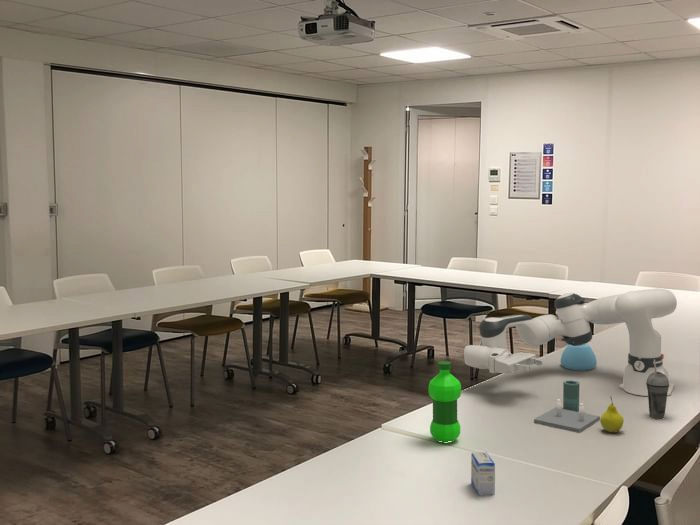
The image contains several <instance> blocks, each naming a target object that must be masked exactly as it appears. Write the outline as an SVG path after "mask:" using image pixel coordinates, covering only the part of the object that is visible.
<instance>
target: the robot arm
mask: <svg viewBox="0 0 700 525" xmlns="http://www.w3.org/2000/svg"><path fill="white" fill-rule="evenodd" d="M586 300H587V299H586V298H585V297H582V296H581V295H579V294H577V293H572V292H570V293H569V292H568V293H567V292H566V293H563V294H561V295H560V296H558V297H557V298H555V300H554V309H555V310H556V315H554V314H543V315H540V316H537V317H534V318H533V317H532V315H530V314H529V315H528V314H512V315H504V316H496V317H492V316H491V317H486V318H484V319H483V320H482V321H481V322H480V323H479V325H478V330H479V335H480V340H481V341H480V342H481V345H479V344H478V345H477V344H469V345H466V346H465V347H464V348H463V353H462V355H463V356H462V357H463V362H464V363H465V364H466V365H467V366H468V367H471V368H475V369H480V370H489V373H490V374H497V373H498V374H507V375H508V374H512V373H515V372H517V371H525V372H526V371H530V370H531V366H533V365H536V366H539V367H540V366H542V365H543V360H542V359H538V358H537V356H536V354H535V353H529V352H515V353H511V351H510V350H509V349H508V345H507V343H508V342H507V334H506V333H507V329H508V328H513V327H515V329H516V331H517V334H518V336H519V338H520V339H521V340H522V342H523V343H524V344H526V345H528V346H531V347H538V346H541V345H544V344H546V343H548V342H550V341H551V340H554V339H555V338H557V337H562V338H561V339H560V340H561V342H565V343H566V344H567V345H572V346H582V345H585V344H587V345H588V343H590V342H592V340H593V332H592V330H591V325H590V323H591V324H593V325H605V326H606V325H615V324H621V323H625V325H626V328H627V331H628V336H629V337H628V338H629V339H628V340H629V343H628V344H629V353H628V355H627V363H628V364H627V365H626V366H625V367H623V379H622V383H620V384H619V388H620V389H622V390H624V391H625V392H626V393H629V394H632V395H637V396H643V397H648V390H647V384H646V382H647V378H648V376H649V375H650V374H652V373H654V372H655V368H654V359H655V362H656V371H657V372H661V373H663V374H664V375H665V376H666V377H667V378H668V379H669V371H668V370H667V369H666V368H665V367H664V366H663V365H664V362H663V361H664V358H665V354H664V353H662V335H661V333H659V332H658V331H657V330H655V328H654V327H653V323H652V319H657V318H658V319H659V318H663V317H666V316H669V315H671V314H673V313H674V312H675V310H676V309H677V303H678V302H677V300H678V299H677V298H676V295H675V294H674V293H673V292H672V291H671V290H668V289H664V288H650V289H642V290H640V289H639V290H630V291H627V292H625V293H620V294H615V295H610V296H605V297H604V296H603V297H600V298H597V299H595V300H591V301H590V302H586ZM674 388H675V384H674V382H670V381H669V389H668V392H667V397H668V396H671V395H672V393H673V390H674Z"/></svg>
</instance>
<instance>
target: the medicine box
mask: <svg viewBox="0 0 700 525" xmlns="http://www.w3.org/2000/svg"><path fill="white" fill-rule="evenodd" d="M470 457H471V462H470V463H471V468H470V469H471V472H470V473H471V474H470V482H471V484H472V486H473V489H474V490H475V492H476V494H478V495H479V496H488V495H496V494H495V493H496V463H495V462H494V461H493V459H492V457H491V456H490V455H489V453H488V452H487V451H479V452H477V451H475V452H471V456H470Z"/></svg>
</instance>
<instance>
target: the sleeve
mask: <svg viewBox="0 0 700 525" xmlns="http://www.w3.org/2000/svg"><path fill="white" fill-rule="evenodd" d="M562 384H563V386H562V388H563V391H562V392H563V396H562V404H563V405H562V409H565V410H570V411H575V412H577V411H578V412H579V404H580V382H578V381H576V380H564V381H563V383H562Z"/></svg>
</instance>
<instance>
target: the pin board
mask: <svg viewBox="0 0 700 525" xmlns="http://www.w3.org/2000/svg"><path fill="white" fill-rule="evenodd" d="M555 402H556V403H555V405H556V406H555V407H554V408H552V409H549V410H548V411H545V413H543V414H541V415H539V416H538V417H536V418H534V419H533V423H534V424H538V425H541V426H542V425H543V426H546V427H547V426H548V427H552V428H553V427H554V428H557V429H562V430H564V431H565V430H566V431H569V432H576V433H579V434H580V433H582V432H583V431H585V430H587V429H588V428H589V427H591V426H592V425H594V424H596V423H597V422H598V421H600V419H601V416H600V415H596V414H595V415H594V414H592V413H591V414H589V413H585V404H584V403H582V402H579V411H578V412H575V411H570V410H565V409H563V408H562V400H561V399H560V398H557V399H556V400H555Z"/></svg>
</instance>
